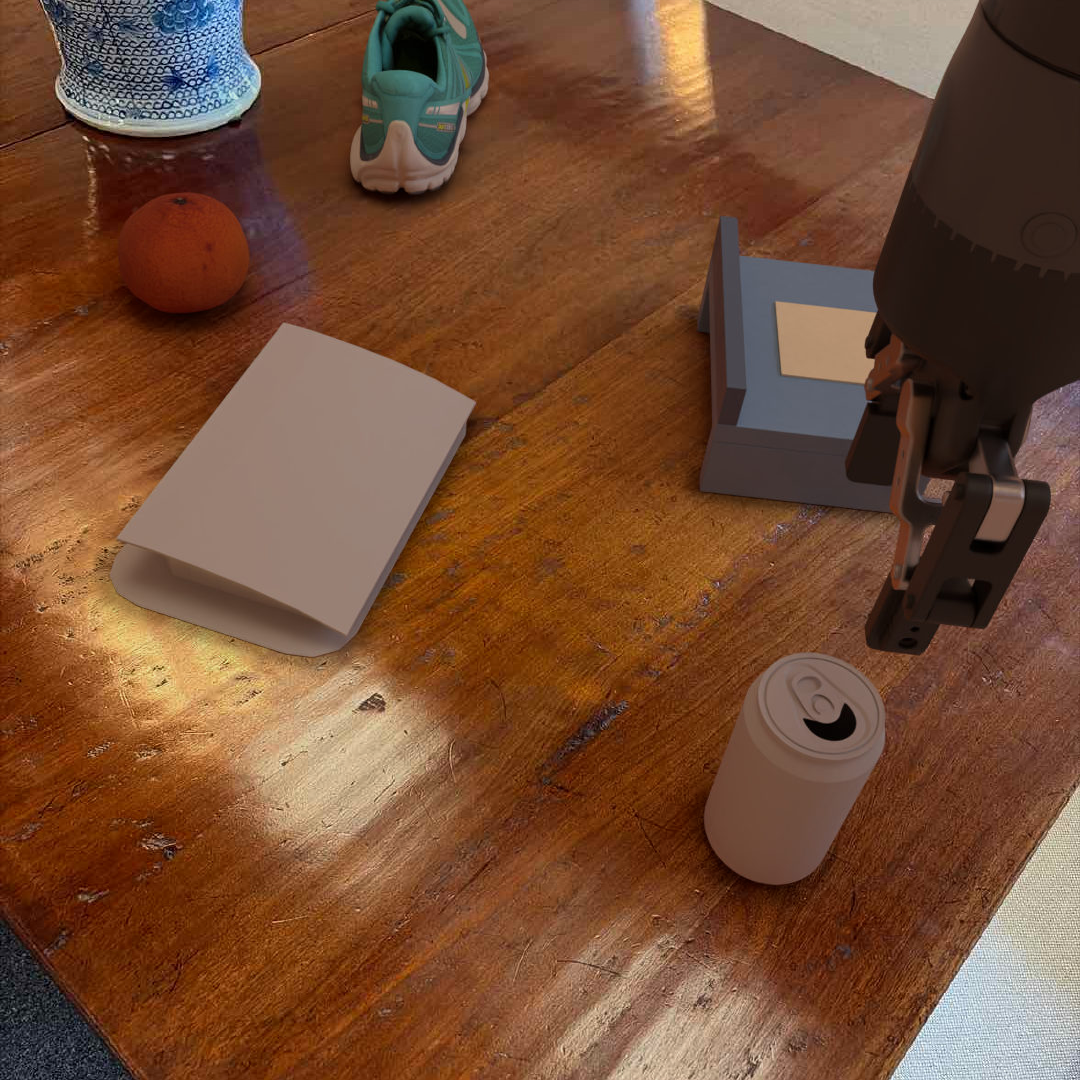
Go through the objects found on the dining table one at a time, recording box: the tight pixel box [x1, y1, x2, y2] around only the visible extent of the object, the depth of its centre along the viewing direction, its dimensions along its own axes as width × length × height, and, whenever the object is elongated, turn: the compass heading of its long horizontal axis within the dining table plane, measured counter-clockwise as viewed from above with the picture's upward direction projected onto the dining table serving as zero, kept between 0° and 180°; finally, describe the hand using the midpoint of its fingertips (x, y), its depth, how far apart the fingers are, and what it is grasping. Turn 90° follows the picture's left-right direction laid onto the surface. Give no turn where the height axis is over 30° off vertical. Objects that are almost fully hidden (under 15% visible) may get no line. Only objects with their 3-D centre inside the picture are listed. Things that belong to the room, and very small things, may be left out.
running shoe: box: [349, 0, 490, 196], centre depth 101 cm, size 11×29×11 cm, turn 1°
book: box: [108, 322, 477, 658], centre depth 73 cm, size 15×23×4 cm, turn 162°
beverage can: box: [703, 651, 886, 886], centre depth 57 cm, size 6×6×12 cm
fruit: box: [117, 191, 250, 314], centre depth 83 cm, size 9×9×8 cm
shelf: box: [696, 215, 932, 514], centre depth 80 cm, size 14×18×9 cm
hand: (879, 555), depth 46 cm, fingers open, 8 cm apart
